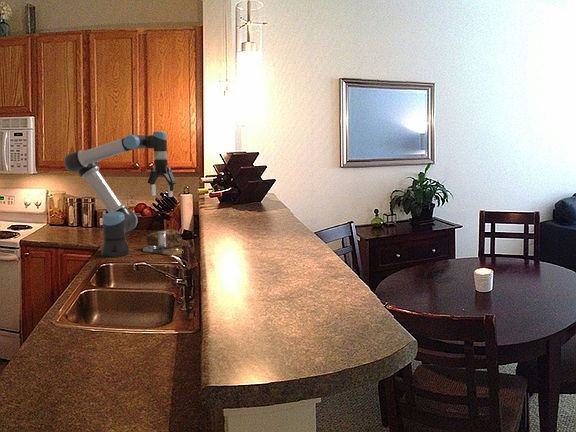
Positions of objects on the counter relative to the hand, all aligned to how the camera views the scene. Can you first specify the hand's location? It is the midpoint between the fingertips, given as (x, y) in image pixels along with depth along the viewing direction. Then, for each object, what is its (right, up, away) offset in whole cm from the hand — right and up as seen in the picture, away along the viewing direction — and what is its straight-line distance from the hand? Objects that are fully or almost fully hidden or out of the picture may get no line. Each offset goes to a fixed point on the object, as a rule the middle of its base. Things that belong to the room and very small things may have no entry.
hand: (162, 196), depth 312 cm
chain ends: (+1, -32, -1) cm, 32 cm away
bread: (-2, -30, +17) cm, 35 cm away
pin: (+1, -32, -1) cm, 32 cm away
